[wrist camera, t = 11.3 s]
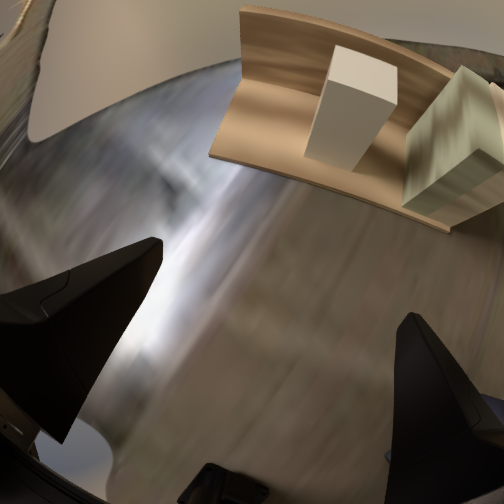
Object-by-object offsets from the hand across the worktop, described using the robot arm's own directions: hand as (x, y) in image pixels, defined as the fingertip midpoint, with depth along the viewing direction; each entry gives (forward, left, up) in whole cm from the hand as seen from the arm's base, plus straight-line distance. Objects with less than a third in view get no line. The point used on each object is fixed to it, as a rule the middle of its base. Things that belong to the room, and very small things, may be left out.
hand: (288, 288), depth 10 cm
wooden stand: (+16, 0, -14) cm, 21 cm away
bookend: (+15, +2, -13) cm, 20 cm away
